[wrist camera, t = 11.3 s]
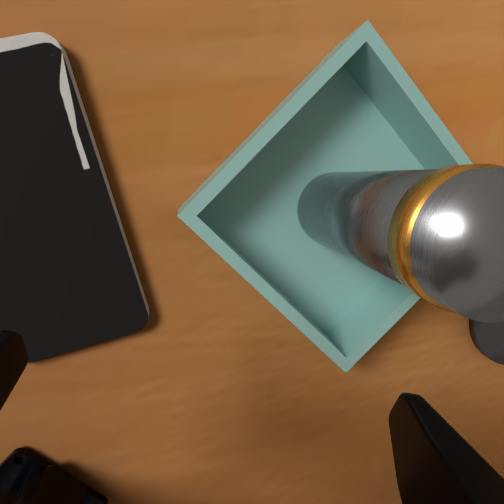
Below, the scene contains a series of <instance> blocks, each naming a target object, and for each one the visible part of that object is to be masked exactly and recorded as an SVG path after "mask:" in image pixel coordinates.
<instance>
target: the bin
mask: <svg viewBox="0 0 504 504" xmlns="http://www.w3.org/2000/svg"><path fill="white" fill-rule="evenodd" d="M469 164H473V163H472V162H471V161H470V159H469V158H468V156H467V155H466V154H465V152H464V151H463V150H462V148H461V147H460V146H459V144H458V143H457V141H456V140H455V139H454V137H453V136H452V135H451V133H450V132H449V130H448V129H447V128H446V126H445V125H444V124H443V122H442V121H441V119H440V118H439V117H438V115H437V114H436V113H435V111H434V110H433V108H432V107H431V106H430V104H429V103H428V102H427V100H426V99H425V98H424V96H423V95H422V93H421V92H420V91H419V89H418V88H417V87H416V85H415V84H414V82H413V81H412V80H411V78H410V77H409V76H408V74H407V73H406V71H405V70H404V69H403V67H402V66H401V65H400V63H399V62H398V61H397V59H396V58H395V56H394V55H393V54H392V52H391V51H390V50H389V48H388V47H387V45H386V44H385V43H384V41H383V40H382V39H381V37H380V36H379V34H378V33H377V32H376V30H375V29H374V28H373V26H372V25H371V23H370V22H369V21H368V20H367V21H366V22H364V23H363V24H362V25H361V26H360V27H358V28H357V29H356V30H355V31H353V32H352V33H351V34H350V35H348V36H347V37H346V38H345V39H344V40H342V41H341V42H340V43H339V44H337V45H336V46H335V47H334V48H333V49H332V50H331V51H330V52H329V53H328V54H327V55H326V56H325V57H324V59H323V60H322V61H321V62H320V63H319V64H318V65H317V66H316V67H315V68H314V69H313V70H312V71H311V72H310V73H309V74H308V75H307V76H306V77H305V78H304V79H303V80H302V81H301V82H300V83H299V84H298V85H297V86H296V87H295V88H294V89H293V91H292V92H291V93H290V94H289V95H288V96H287V97H286V98H285V99H284V100H283V101H282V102H281V103H280V104H279V105H278V106H277V107H276V108H275V109H274V110H273V111H272V112H271V113H270V114H269V115H268V116H267V117H266V118H265V119H264V120H263V121H262V123H261V124H260V125H259V126H258V127H257V128H256V129H255V130H254V131H253V132H252V133H251V134H250V135H249V136H248V137H247V138H246V139H245V140H244V141H243V142H242V143H241V144H240V145H239V146H238V147H237V148H236V149H235V150H234V151H233V152H232V154H231V155H230V156H229V157H228V158H227V159H226V160H225V161H224V162H223V163H222V164H221V165H220V166H219V167H218V168H217V169H216V170H215V171H214V172H213V173H212V174H211V175H210V176H209V177H208V178H207V179H206V180H205V181H204V182H203V183H202V184H201V186H200V187H199V188H198V189H197V190H196V191H195V192H194V193H193V194H192V195H191V196H190V197H189V198H188V199H187V200H186V201H185V202H184V203H183V204H182V205H181V206H180V207H179V208H178V215H177V216H178V217H179V218H180V219H181V220H182V221H183V222H184V223H185V224H186V225H187V226H188V227H190V228H191V229H192V230H193V231H194V232H195V233H196V234H197V235H198V236H199V237H200V238H201V239H202V240H204V241H205V242H206V243H207V244H208V245H209V246H210V247H211V248H212V249H213V250H214V251H215V252H216V253H218V254H219V255H220V256H221V257H222V258H223V259H224V260H225V261H226V262H227V263H228V264H229V265H230V266H231V267H233V268H234V269H235V270H236V271H237V272H238V273H239V274H240V275H241V276H242V277H243V278H244V279H245V280H247V281H248V282H249V283H250V284H251V285H252V286H253V287H254V288H255V289H256V290H257V291H258V292H259V293H260V294H262V295H263V296H264V297H265V298H266V299H267V300H268V301H269V302H270V303H271V304H272V305H273V306H274V307H276V308H277V309H278V310H279V311H280V312H281V313H282V314H283V315H284V316H285V317H286V318H287V319H288V320H289V321H291V322H292V323H293V324H294V325H295V326H296V327H297V328H298V329H299V330H300V331H301V332H302V333H303V334H305V335H306V336H307V337H308V338H309V339H310V340H311V341H312V342H313V343H314V344H315V345H316V346H317V347H318V348H320V349H321V350H322V351H323V352H324V353H325V354H326V355H327V356H328V357H329V358H330V359H331V360H332V361H334V362H335V363H336V364H337V365H338V366H339V367H340V368H341V369H342V370H343V371H344V372H345V373H346V372H347V371H348V370H349V369H350V368H351V367H352V366H353V365H354V364H355V363H356V362H357V361H358V360H359V359H360V358H361V357H362V356H363V355H364V354H365V353H366V352H367V351H368V350H369V349H370V348H371V347H372V346H373V345H374V344H375V343H376V342H377V341H378V340H379V339H380V338H381V337H382V336H383V335H384V334H385V333H386V332H387V331H388V330H389V329H390V328H391V327H392V326H393V325H394V324H395V323H396V322H397V321H398V320H399V319H400V318H401V317H402V316H403V315H404V314H405V313H406V312H407V311H408V310H409V309H410V308H411V307H412V306H413V305H414V304H415V303H416V302H417V301H418V300H419V299H420V297H418V296H416V295H415V294H413V293H411V292H410V291H409V290H408V289H406V288H405V287H404V286H403V285H402V284H400V283H398V282H396V281H394V280H392V279H390V278H388V277H386V276H384V275H382V274H380V273H378V272H376V271H374V270H372V269H370V268H368V267H366V266H364V265H362V264H360V263H358V262H356V261H354V260H352V259H350V258H348V257H346V256H345V255H343V254H341V253H339V252H337V251H335V250H333V249H331V248H329V247H327V246H325V245H323V244H321V243H319V242H317V241H315V240H313V239H312V238H310V237H309V236H308V235H307V234H306V233H305V232H304V230H303V229H302V227H301V225H300V222H299V219H298V213H297V207H298V201H299V198H300V195H301V193H302V191H303V189H304V188H305V187H306V185H307V184H308V183H309V182H310V181H311V180H313V179H314V178H316V177H317V176H319V175H322V174H325V173H330V172H361V171H393V170H426V169H439V168H442V167H446V166H452V165H469Z"/></svg>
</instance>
